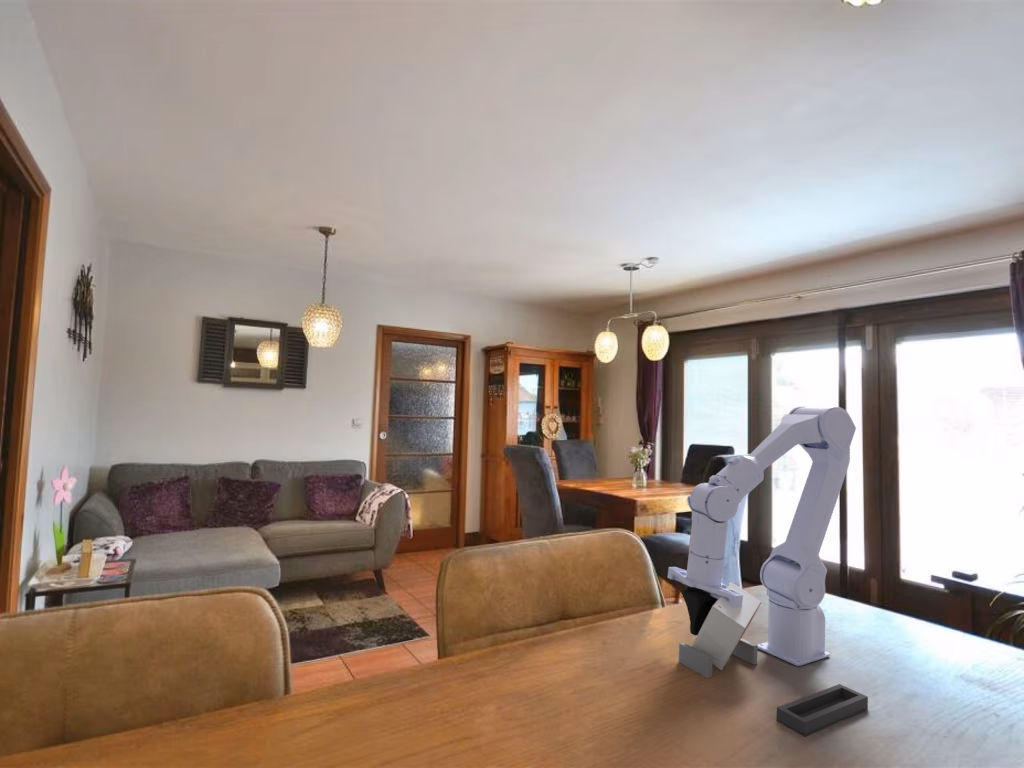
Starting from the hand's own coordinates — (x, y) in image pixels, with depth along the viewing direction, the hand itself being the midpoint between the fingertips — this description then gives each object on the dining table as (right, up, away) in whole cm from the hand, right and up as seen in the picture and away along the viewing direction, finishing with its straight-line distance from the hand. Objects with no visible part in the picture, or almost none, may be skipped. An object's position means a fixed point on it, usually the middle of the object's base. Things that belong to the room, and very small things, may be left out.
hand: (697, 634), depth 93 cm
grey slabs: (+3, -4, -2) cm, 5 cm away
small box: (+3, -2, 0) cm, 3 cm away
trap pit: (+12, -4, -17) cm, 21 cm away
